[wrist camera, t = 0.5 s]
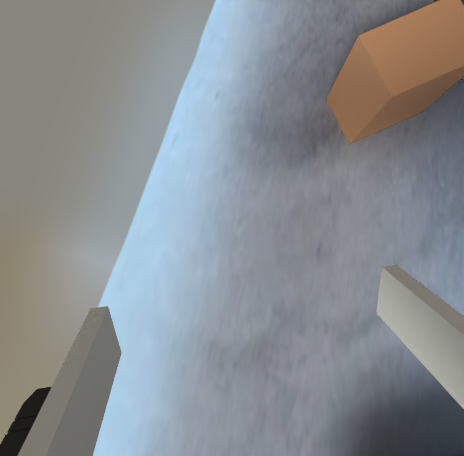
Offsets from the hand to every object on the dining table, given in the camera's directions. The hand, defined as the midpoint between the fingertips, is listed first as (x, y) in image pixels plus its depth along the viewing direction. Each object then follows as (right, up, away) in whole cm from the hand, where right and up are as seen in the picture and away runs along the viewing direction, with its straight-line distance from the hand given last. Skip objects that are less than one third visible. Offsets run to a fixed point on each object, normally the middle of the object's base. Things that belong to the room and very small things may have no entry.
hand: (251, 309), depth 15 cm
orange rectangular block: (+15, +18, +20) cm, 31 cm away
